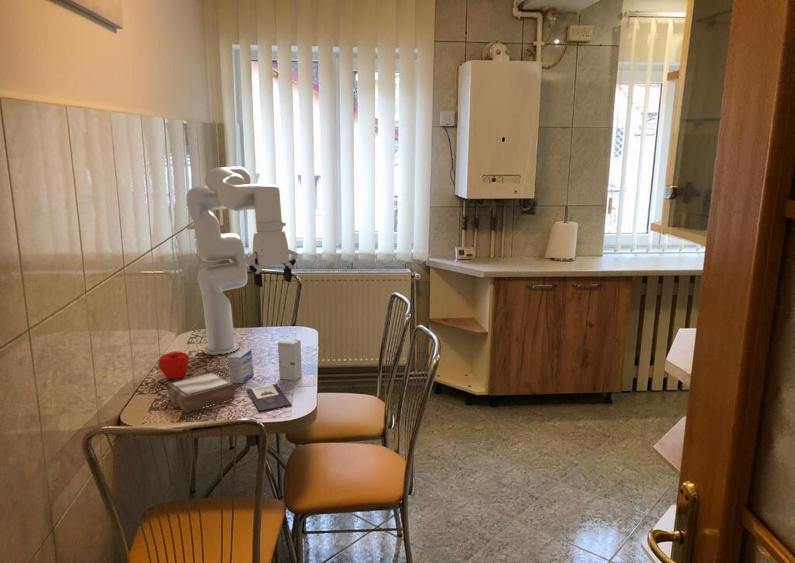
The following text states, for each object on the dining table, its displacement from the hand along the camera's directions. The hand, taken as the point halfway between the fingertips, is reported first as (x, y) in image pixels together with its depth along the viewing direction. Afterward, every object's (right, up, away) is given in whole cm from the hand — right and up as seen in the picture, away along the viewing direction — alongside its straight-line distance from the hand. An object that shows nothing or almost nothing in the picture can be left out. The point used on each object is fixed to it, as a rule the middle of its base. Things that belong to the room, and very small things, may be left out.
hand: (273, 283), depth 179 cm
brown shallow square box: (-20, -34, -6) cm, 39 cm away
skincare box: (+4, -30, +9) cm, 32 cm away
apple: (-34, -31, +13) cm, 48 cm away
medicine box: (-12, -31, +10) cm, 34 cm away
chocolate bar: (0, -34, -6) cm, 34 cm away
